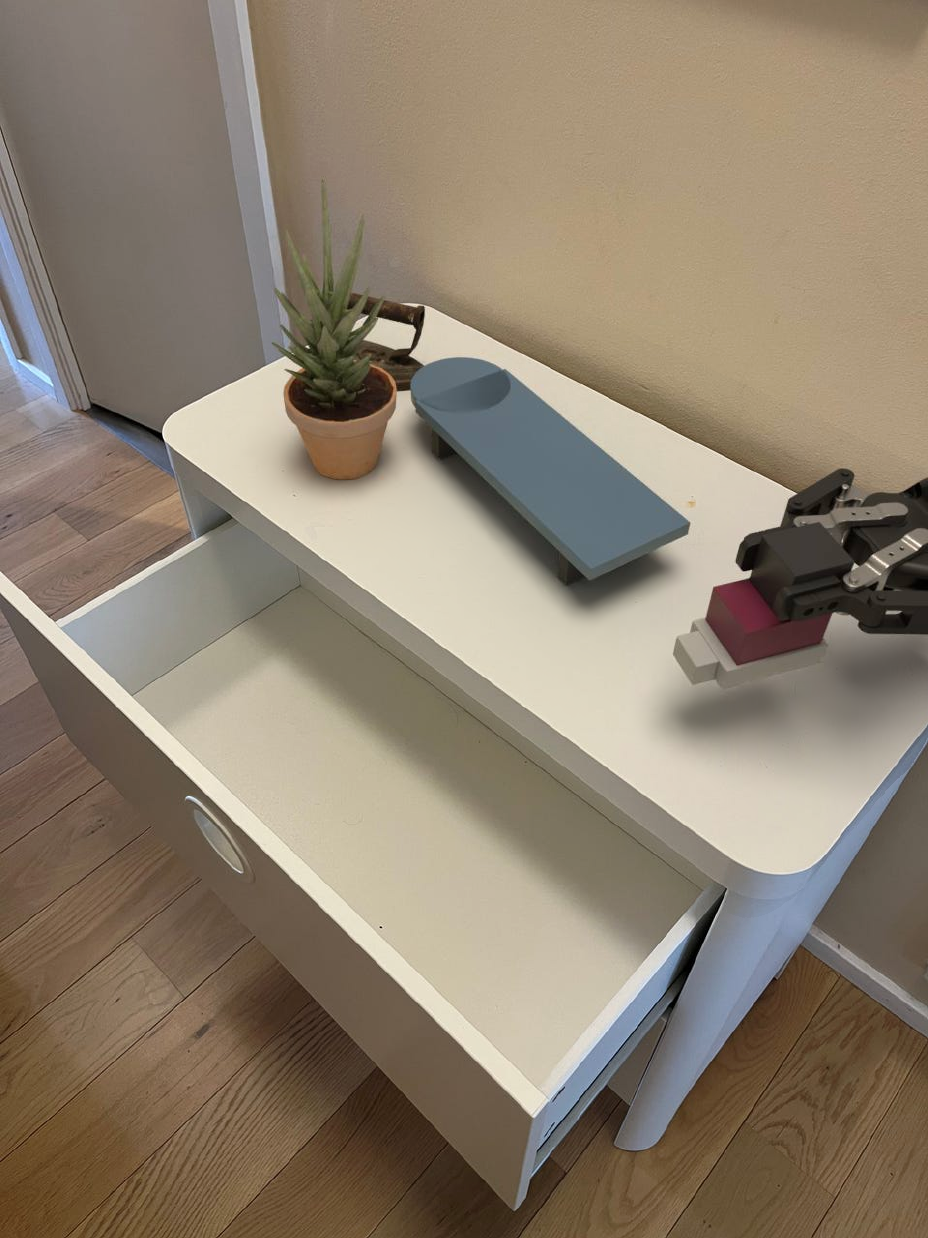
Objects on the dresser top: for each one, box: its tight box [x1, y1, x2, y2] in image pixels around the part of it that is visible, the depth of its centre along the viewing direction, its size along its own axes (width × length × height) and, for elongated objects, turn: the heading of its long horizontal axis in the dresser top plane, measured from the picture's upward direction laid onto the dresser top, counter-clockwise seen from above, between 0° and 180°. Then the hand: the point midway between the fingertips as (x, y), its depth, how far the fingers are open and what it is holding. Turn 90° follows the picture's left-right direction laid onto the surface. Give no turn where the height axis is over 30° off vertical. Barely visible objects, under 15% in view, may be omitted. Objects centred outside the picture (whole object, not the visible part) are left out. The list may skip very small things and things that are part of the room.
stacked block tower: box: [672, 522, 855, 690], centre depth 60 cm, size 9×5×9 cm, turn 108°
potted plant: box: [271, 173, 398, 480], centre depth 78 cm, size 10×10×25 cm
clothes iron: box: [346, 291, 426, 391], centre depth 93 cm, size 7×11×10 cm, turn 73°
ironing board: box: [409, 356, 691, 586], centre depth 82 cm, size 30×10×5 cm, turn 32°
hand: (760, 580), depth 58 cm, fingers closed on stacked block tower, 4 cm apart
